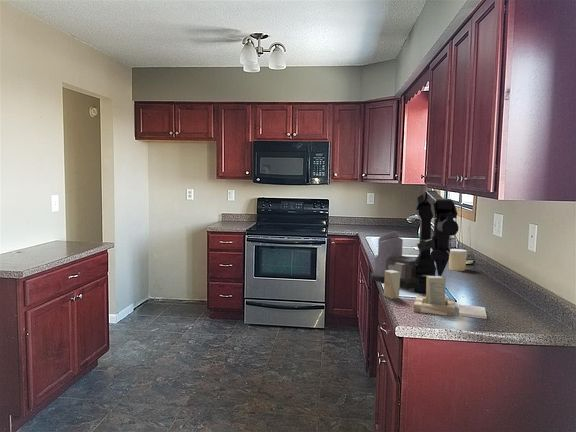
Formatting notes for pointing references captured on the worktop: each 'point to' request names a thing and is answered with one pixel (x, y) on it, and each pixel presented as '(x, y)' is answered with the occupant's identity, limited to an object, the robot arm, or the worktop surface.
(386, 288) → the box
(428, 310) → the frame
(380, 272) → the juicer
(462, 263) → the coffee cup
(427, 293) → the skincare box
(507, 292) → the worktop surface
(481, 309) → the tile
